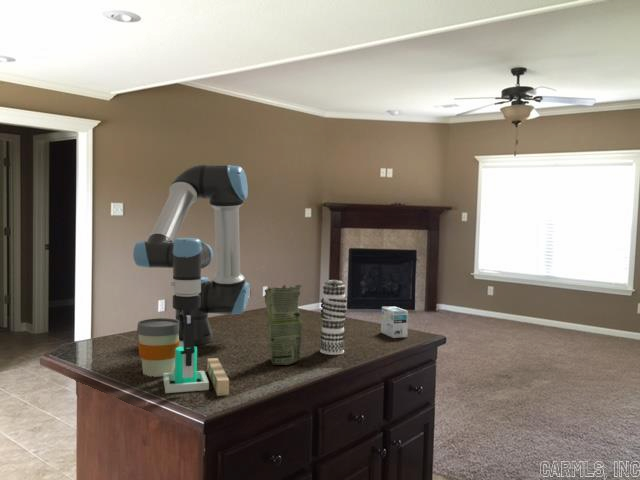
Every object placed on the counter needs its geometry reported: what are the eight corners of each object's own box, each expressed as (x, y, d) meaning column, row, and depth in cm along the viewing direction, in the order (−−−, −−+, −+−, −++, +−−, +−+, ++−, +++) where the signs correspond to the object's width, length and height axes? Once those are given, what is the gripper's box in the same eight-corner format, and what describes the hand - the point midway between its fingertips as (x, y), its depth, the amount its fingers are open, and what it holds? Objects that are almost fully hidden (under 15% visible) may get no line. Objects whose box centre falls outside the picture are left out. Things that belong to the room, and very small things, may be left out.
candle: (198, 381, 157) (199, 340, 157) (194, 388, 151) (195, 345, 151) (177, 381, 157) (177, 339, 156) (172, 388, 151) (173, 345, 150)
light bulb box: (408, 337, 219) (408, 310, 219) (393, 338, 217) (393, 311, 216) (394, 331, 229) (395, 305, 229) (380, 332, 227) (381, 306, 226)
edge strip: (207, 371, 167) (207, 358, 167) (217, 371, 168) (217, 358, 168) (217, 395, 146) (217, 380, 146) (228, 394, 147) (229, 380, 147)
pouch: (261, 365, 176) (263, 286, 174) (270, 355, 187) (271, 281, 186) (296, 367, 174) (298, 288, 173) (302, 357, 186) (304, 283, 184)
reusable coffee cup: (188, 372, 166) (189, 322, 165) (151, 381, 157) (151, 328, 156) (165, 363, 174) (165, 316, 174) (128, 371, 165) (128, 321, 164)
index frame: (163, 380, 158) (163, 373, 158) (204, 377, 162) (204, 370, 162) (165, 393, 147) (165, 385, 147) (208, 389, 151) (209, 382, 151)
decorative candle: (350, 351, 196) (352, 280, 194) (336, 356, 188) (338, 283, 187) (328, 346, 201) (330, 278, 199) (314, 351, 193) (316, 280, 192)
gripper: (170, 287, 164) (169, 358, 165) (175, 302, 140) (174, 384, 141) (196, 287, 166) (195, 357, 167) (205, 301, 142) (204, 382, 144)
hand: (185, 370), depth 154 cm, fingers open, 13 cm apart
